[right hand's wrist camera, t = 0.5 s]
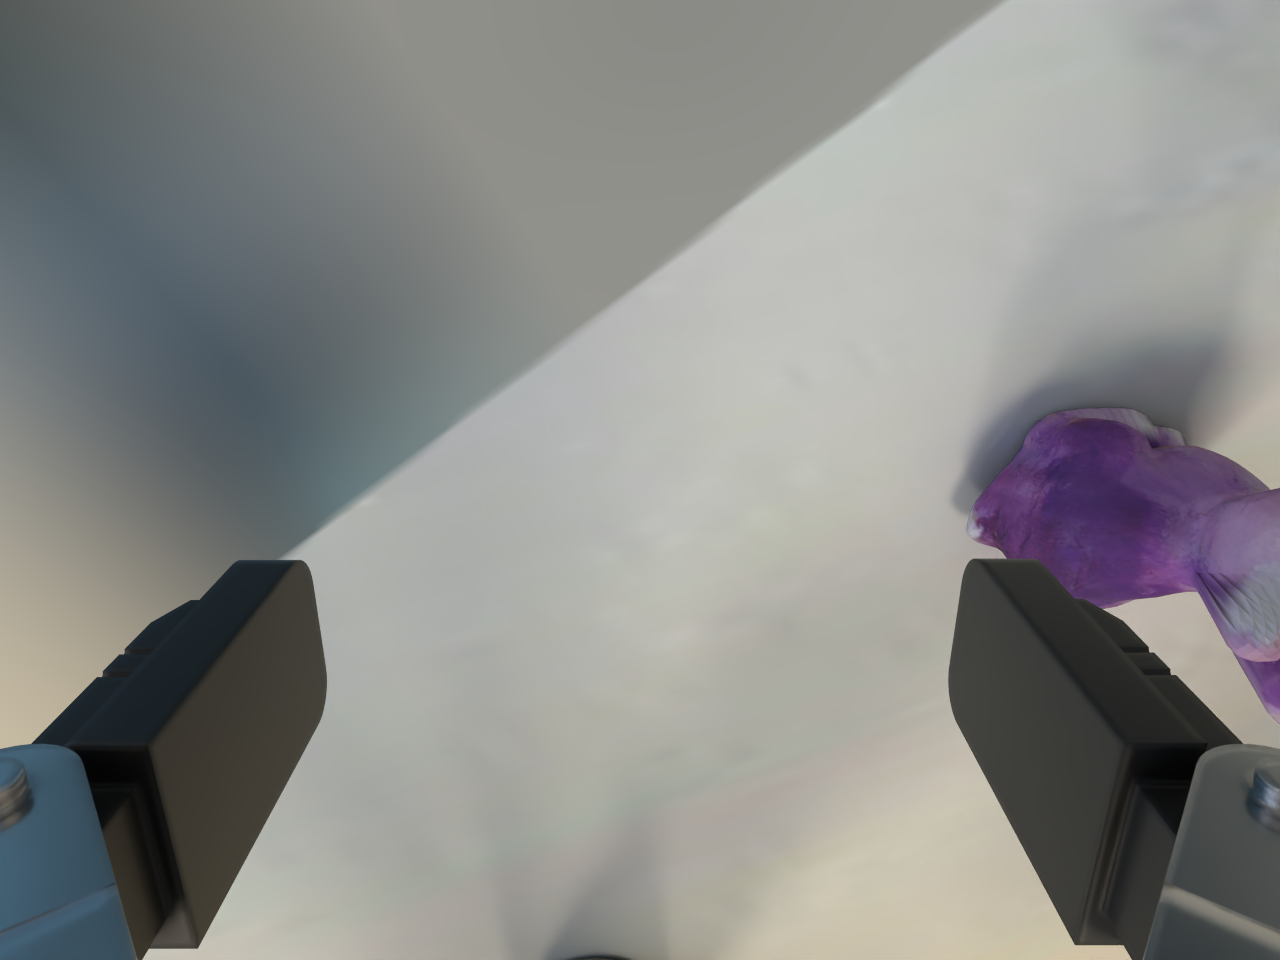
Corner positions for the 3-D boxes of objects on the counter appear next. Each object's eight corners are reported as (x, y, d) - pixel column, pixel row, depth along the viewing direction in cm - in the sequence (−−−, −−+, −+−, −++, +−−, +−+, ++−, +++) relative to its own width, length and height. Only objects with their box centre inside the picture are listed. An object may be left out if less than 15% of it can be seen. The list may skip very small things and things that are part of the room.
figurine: (1244, 431, 41) (1560, 591, 27) (1096, 603, 44) (1309, 826, 30) (1081, 330, 39) (1328, 445, 25) (940, 517, 42) (1089, 711, 28)
